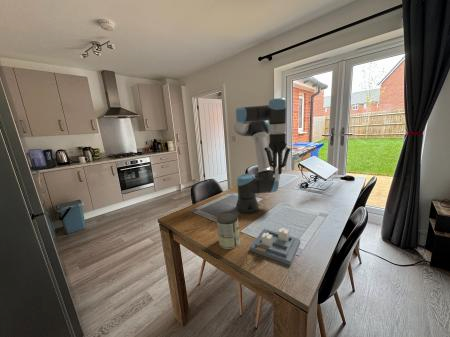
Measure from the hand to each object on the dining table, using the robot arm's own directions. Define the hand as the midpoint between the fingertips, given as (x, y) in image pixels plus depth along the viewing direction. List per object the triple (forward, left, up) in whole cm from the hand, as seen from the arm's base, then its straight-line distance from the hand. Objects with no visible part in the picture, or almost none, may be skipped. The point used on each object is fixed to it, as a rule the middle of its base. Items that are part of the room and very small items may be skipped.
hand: (277, 179), depth 92 cm
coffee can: (-16, -24, -27) cm, 40 cm away
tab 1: (+2, -20, -25) cm, 32 cm away
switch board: (+4, -16, -27) cm, 32 cm away
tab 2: (+7, -13, -25) cm, 29 cm away
